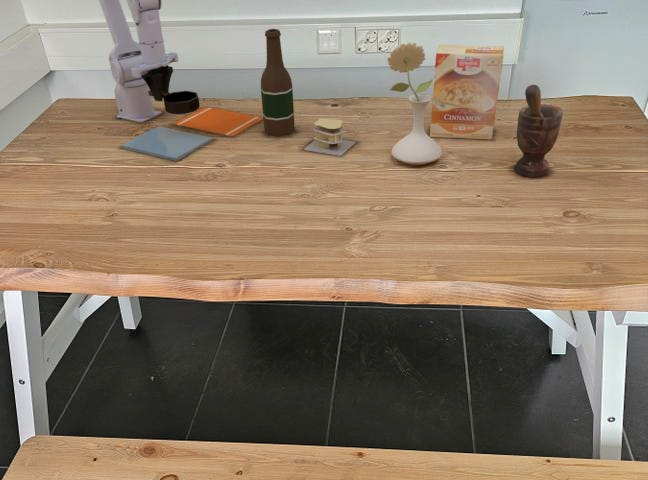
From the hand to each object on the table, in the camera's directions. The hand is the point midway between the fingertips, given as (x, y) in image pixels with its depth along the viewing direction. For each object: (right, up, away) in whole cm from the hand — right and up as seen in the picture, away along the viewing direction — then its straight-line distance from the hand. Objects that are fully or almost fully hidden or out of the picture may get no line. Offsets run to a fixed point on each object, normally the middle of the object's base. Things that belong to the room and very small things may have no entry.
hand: (161, 99), depth 171 cm
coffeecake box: (+74, -10, -4) cm, 75 cm away
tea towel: (+13, -2, +10) cm, 17 cm away
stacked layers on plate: (+42, -14, -6) cm, 44 cm away
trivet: (+2, -11, -1) cm, 12 cm away
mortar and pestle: (+85, -25, -23) cm, 91 cm away
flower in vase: (+61, -19, -14) cm, 65 cm away
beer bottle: (+30, -8, +2) cm, 31 cm away
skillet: (+3, -2, -1) cm, 4 cm away
